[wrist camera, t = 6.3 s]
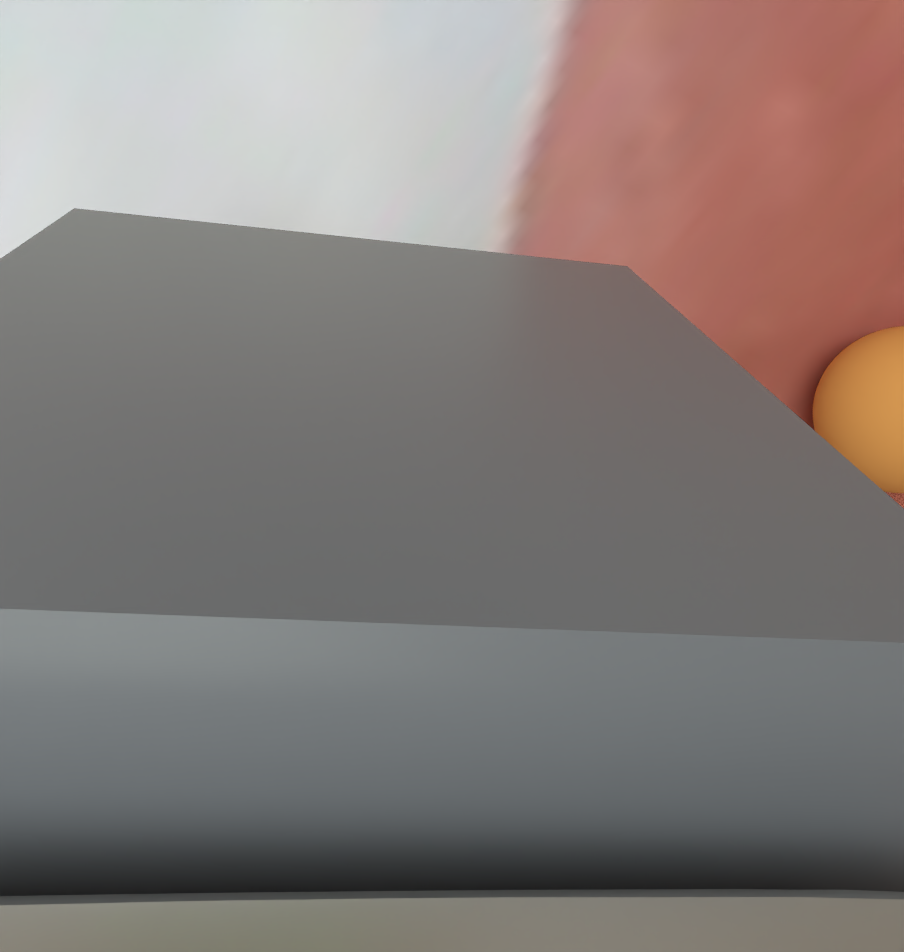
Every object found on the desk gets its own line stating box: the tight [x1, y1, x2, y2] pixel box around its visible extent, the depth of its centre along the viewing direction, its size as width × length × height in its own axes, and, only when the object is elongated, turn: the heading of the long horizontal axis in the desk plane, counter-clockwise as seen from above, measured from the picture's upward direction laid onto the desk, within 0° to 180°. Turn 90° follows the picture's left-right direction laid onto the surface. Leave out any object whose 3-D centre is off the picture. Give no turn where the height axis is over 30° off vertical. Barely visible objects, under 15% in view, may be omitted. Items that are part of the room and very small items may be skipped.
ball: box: [813, 326, 904, 493], centre depth 26 cm, size 5×5×5 cm
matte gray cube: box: [0, 208, 904, 896], centre depth 10 cm, size 8×8×9 cm
